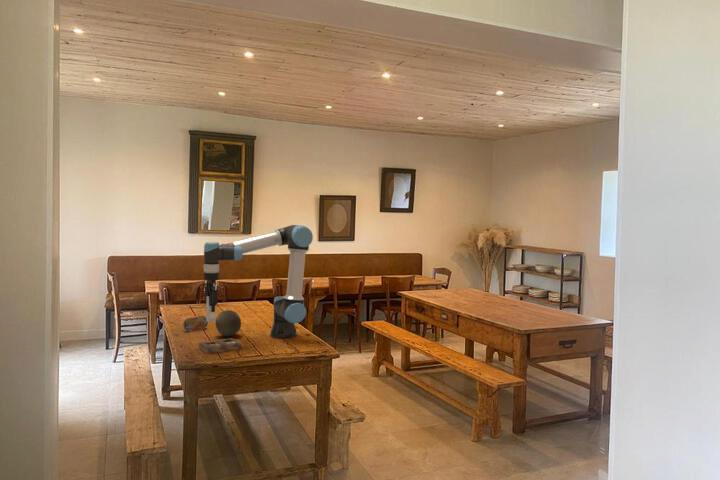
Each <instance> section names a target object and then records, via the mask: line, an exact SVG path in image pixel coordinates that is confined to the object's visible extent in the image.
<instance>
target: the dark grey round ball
mask: <svg viewBox="0 0 720 480" xmlns="http://www.w3.org/2000/svg"><path fill="white" fill-rule="evenodd" d="M214 322H215V327H216V330H217V332H218V333H220V334H221V335H222V336H224V337H232V336H233V337H234V336H235V335H236V334H238V332H239V331H240V330H241V327H242V320H241V318H240V315H239V313H237V312H236V311H234V310H231V309H229V310H228V309H227V310H223V311H221V312H219V313H218V314H217V316H215V321H214Z"/></svg>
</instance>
